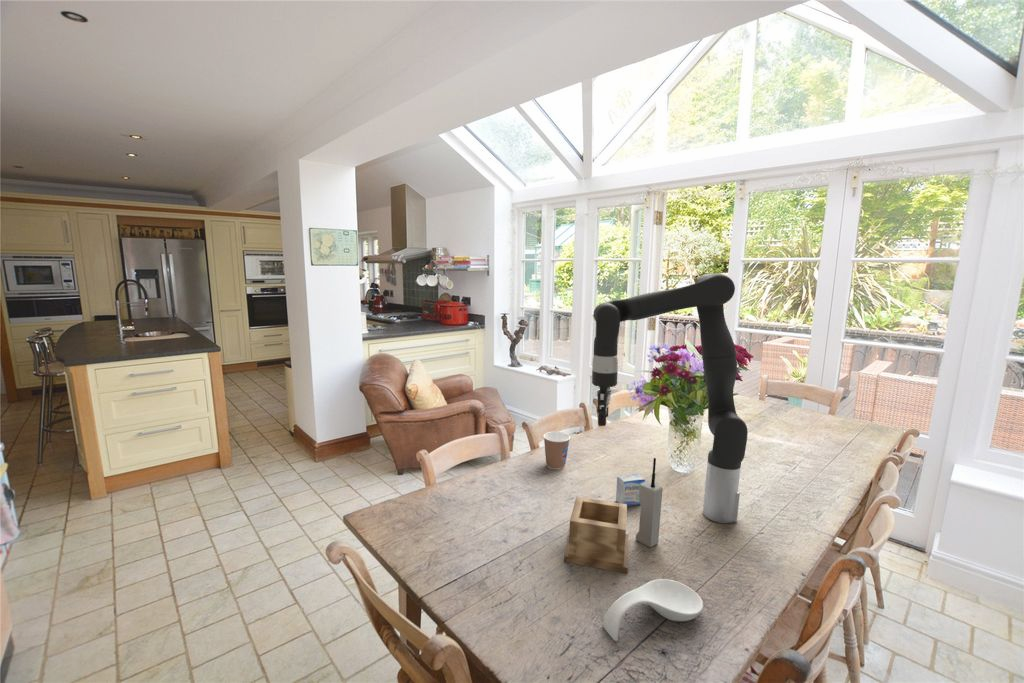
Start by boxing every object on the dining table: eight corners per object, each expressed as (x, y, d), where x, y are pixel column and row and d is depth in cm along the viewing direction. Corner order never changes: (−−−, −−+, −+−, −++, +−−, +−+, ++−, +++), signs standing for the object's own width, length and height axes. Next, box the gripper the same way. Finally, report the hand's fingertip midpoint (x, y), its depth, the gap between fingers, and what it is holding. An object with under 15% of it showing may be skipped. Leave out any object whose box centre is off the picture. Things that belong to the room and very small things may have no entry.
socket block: (628, 539, 127) (630, 503, 125) (627, 573, 112) (629, 532, 111) (571, 529, 131) (573, 494, 129) (563, 561, 116) (565, 522, 115)
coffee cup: (567, 473, 167) (569, 442, 166) (540, 470, 169) (541, 439, 168) (569, 461, 177) (571, 432, 175) (544, 459, 179) (545, 430, 177)
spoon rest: (673, 586, 108) (675, 559, 107) (713, 621, 98) (716, 591, 97) (592, 617, 98) (594, 587, 97) (627, 659, 88) (629, 626, 87)
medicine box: (622, 507, 144) (623, 482, 143) (615, 500, 148) (616, 475, 147) (643, 504, 146) (645, 479, 145) (636, 497, 150) (638, 473, 149)
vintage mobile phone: (643, 535, 129) (649, 452, 125) (658, 543, 125) (665, 458, 121) (635, 539, 127) (641, 455, 123) (650, 548, 123) (657, 462, 119)
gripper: (616, 375, 128) (614, 429, 130) (619, 365, 141) (617, 415, 144) (589, 373, 130) (588, 427, 132) (594, 364, 143) (593, 413, 146)
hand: (603, 420), depth 138 cm, fingers open, 8 cm apart
